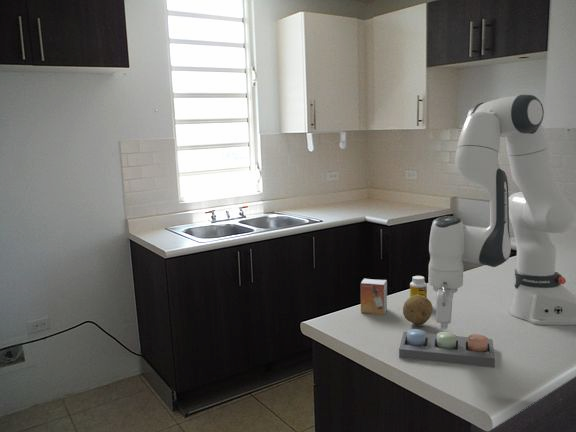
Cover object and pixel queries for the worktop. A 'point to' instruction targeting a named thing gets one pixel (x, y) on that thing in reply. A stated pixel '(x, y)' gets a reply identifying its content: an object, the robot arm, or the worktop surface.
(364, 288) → the small box
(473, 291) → the worktop surface
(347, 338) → the worktop surface
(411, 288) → the supplement bottle
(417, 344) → the slate blue button
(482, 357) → the button panel
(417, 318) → the natural sponge
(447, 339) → the sage button
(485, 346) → the terracotta button
